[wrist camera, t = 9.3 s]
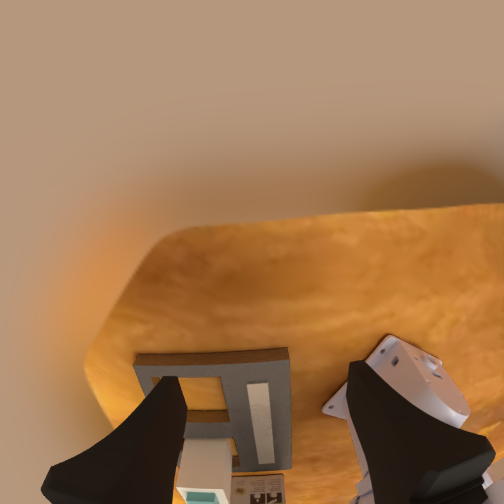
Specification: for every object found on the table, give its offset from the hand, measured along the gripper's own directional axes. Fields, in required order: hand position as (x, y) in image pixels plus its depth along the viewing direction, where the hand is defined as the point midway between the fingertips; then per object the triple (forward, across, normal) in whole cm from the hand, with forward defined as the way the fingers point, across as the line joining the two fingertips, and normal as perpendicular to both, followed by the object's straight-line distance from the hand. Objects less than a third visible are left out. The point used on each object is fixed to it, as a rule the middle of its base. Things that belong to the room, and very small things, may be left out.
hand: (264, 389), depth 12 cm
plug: (+10, +6, +17) cm, 21 cm away
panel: (+10, +4, +13) cm, 17 cm away
